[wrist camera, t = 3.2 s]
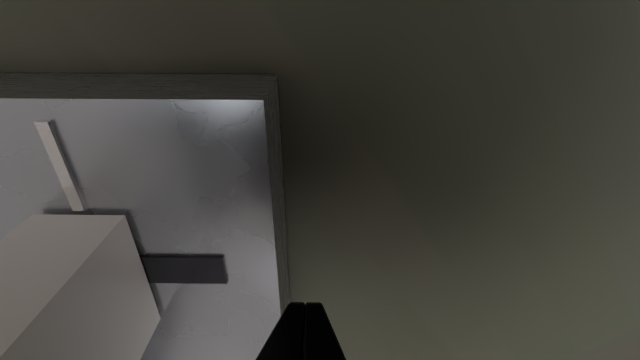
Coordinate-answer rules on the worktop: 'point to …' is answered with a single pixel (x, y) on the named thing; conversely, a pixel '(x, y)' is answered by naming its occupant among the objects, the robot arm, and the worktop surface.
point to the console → (163, 190)
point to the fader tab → (74, 290)
